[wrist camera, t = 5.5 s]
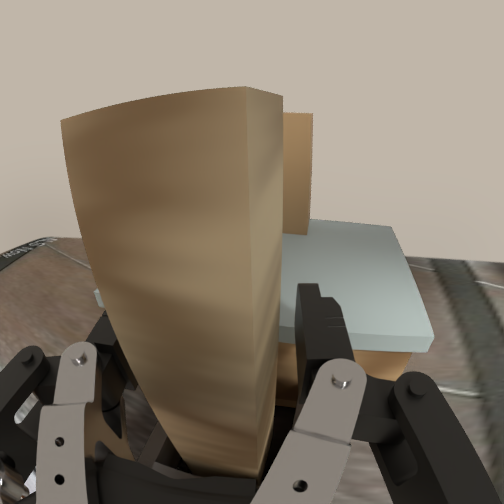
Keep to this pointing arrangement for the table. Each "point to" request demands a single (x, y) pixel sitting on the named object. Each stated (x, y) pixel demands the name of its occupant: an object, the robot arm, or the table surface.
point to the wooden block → (190, 259)
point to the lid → (343, 262)
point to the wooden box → (373, 363)
